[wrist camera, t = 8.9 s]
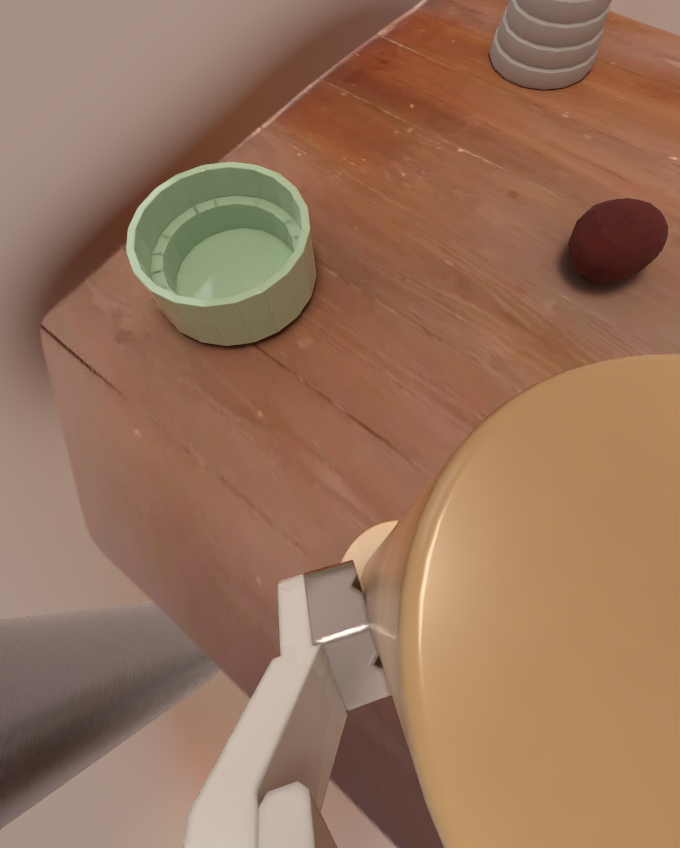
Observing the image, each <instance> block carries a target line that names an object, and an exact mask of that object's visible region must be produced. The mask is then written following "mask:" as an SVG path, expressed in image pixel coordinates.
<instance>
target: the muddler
mask: <svg viewBox="0 0 680 848" xmlns="http://www.w3.org/2000/svg"><path fill="white" fill-rule="evenodd" d="M349 560H353V561H354V564H355V568H356V571H357V574H358V578H359V581H360V585H361V588H362V592H363V595H364V598H365V602H366V608H367V614H368V619H369V623H370V626H371V630H372V633H373V636H374V640H375V643H376V646H377V649H378V652H379V656H380V659H381V662H382V665H383V668H384V671H385V675H386V678H387V681H388V684H389V687H390V691H391V694H392V697H393V700H394V703H395V706H396V710H397V713H398V716H399V719H400V722H401V726H402V729H403V732H404V735H405V738H406V741H407V745H408V748H409V751H410V754H411V757H412V761H413V764H414V767H415V770H416V773H417V776H418V780H419V783H420V786H421V789H422V792H423V796H424V799H425V802H426V805H427V808H428V810H429V812H430V815H431V817H432V820H433V822H434V825H435V827H436V830H437V832H438V834H439V837H440V839H441V842H442V844H443V847H444V848H680V354H653V355H637V356H630V357H624V358H618V359H611V360H605V361H599V362H594V363H591V364H587V365H584V366H581V367H577V368H574V369H570V370H567V371H563V372H561V373H559V374H556V375H554V376H552V377H550V378H547V379H545V380H543V381H541V382H538V383H536V384H534V385H532V386H530V387H529V388H527V389H525V390H524V391H522V392H521V393H519V394H517V395H516V396H514V397H513V398H511V399H509V400H508V401H506V402H504V403H503V404H502V405H501V406H500V407H498V408H497V409H496V410H495V411H494V412H493V413H491V414H490V415H489V416H488V417H487V418H485V419H484V420H483V421H482V422H481V423H479V424H478V425H477V427H476V428H475V429H474V430H473V431H472V432H471V433H470V434H469V436H468V437H467V438H466V439H465V440H464V441H463V442H462V443H461V445H460V446H459V447H458V448H457V449H456V450H455V451H454V453H453V454H452V455H451V456H450V458H449V459H448V460H447V461H446V463H445V464H444V465H443V466H442V468H441V469H440V470H439V472H438V473H437V474H436V475H435V477H434V478H433V479H432V480H431V482H430V483H429V484H428V485H427V487H426V488H425V489H424V490H423V492H422V493H421V494H420V495H419V497H418V498H417V499H416V501H415V502H414V503H413V504H412V506H411V507H410V508H409V509H408V511H407V512H406V513H405V514H404V516H403V517H402V518H401V519H400V520H391V521H385V522H382V523H379V524H376V525H374V526H372V527H370V528H368V529H367V530H365V531H363V532H362V533H361V534H360V535H359V536H357V537H356V538H355V540H354V541H353V542H352V543H351V544H350V546H349V547H348V548H347V550H346V552H345V554H344V556H343V557H342V560H341V563H342V562H346V561H349Z"/></svg>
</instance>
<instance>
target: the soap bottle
mask: <svg viewBox="0 0 680 848" xmlns="http://www.w3.org/2000/svg"><path fill="white" fill-rule="evenodd" d="M611 1H612V0H509V4H508V7H507V8H506V9H505V12H504V14H503V17H502V19H501V22H500V25H499V27H498V28H497V30H496V33H495V35H494V38H493V41H492V44H491V47H490V51H489V53H490V58H491V61H492V64H493V67H494V69H495V70H496V71H497V72H499V73H500V74H501V75H502V76H503V77H504V78H505V79H507V80H509V81H511V82H513V83H516V84H518V85H520V86H522V87H528V88H534V89H541V90H547V89H556V88H564V87H567V86H569V85H571V84H574V83H576V82H578V81H580V80H581V79H582V78H583V77H584V76H585V75H586V74H587V73H588V72H589V71H590V70H591V68H592V67H593V66H594V62H595V59H596V56H597V52H598V47H599V44H600V41H601V38H602V34H603V29H604V25H605V23H606V19H607V16H608V13H609V8H610V3H611Z"/></svg>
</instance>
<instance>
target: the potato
mask: <svg viewBox="0 0 680 848" xmlns="http://www.w3.org/2000/svg"><path fill="white" fill-rule="evenodd" d="M667 235H668V225H667V223H666V220H665V218H664V216H663V214H662V213H661V211H660V210H658V209H657V208H656V207H654V206H653V205H652V204H650V203H648V202H644V201H641V200H636V199H629V198H627V199H616V200H610V201H605V202H602V203H600V204H597V205H594V206H593V207H592V208H591V209H589V210H588V211H587V212H586V213H585V214H584V215H583V216H582V217H581V218H580V219H579V220H578V221H577V222H576V225H575V227H574V230H573V232H572V235H571V238H570V240H569V243H568V245H569V256H570V263H571V264H572V266H573V267H574V268H575V269H576V270H577V271H578V272H579V273H580V274H581V275H582V276H584V277H585V278H587V279H590V280H593V281H596V282H604V283H606V282H616V281H619V280H623V279H626V278H628V277H630V276H632V275H634V274H635V273H637V272H639V271H640V270H642V269H643V268H644V267H646V266H647V265H648V264H650V263H651V262H652V261H653V260H654V259H655V258H656V257H657V256H658V255H659V253H660V252H661V251H662V250H663V247H664V245H665V242H666V239H667Z"/></svg>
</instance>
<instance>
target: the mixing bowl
mask: <svg viewBox="0 0 680 848" xmlns="http://www.w3.org/2000/svg"><path fill="white" fill-rule="evenodd" d="M126 253H127V256H128V259H129V262H130V264H131V267H132V270H133V273H134V274H135V276H136V277H137V279H138V280H139V281H140V283H141V284H142V285H143V287H144V288H145V289H146V291H147V292H148V293H149V295H150V296H151V297H152V299H153V300H154V301H155V303H156V304H157V305H158V307H159V308H160V309H161V311H162V312H163V314H164V315H165V316H166V317H167V318H168V319H169V320H170V322H171V323H172V324H173V325H174V326H175V327H176V328H177V329H178V330H179V331H180V332H182V333H184V334H186V335H188V336H190V337H192V338H194V339H196V340H198V341H200V342H203V343H210V344H216V345H223V346H231V345H239V344H247V343H253V342H256V341H259V340H261V339H263V338H266V337H268V336H271V335H273V334H275V333H278V332H279V331H280V330H282V329H283V328H284V327H285V326H287V325H288V324H289V323H290V322H292V321H293V320H294V319H296V318H297V317H298V316H299V314H300V313H301V311H302V310H303V308H304V307H305V305H306V304H307V302H308V301H309V299H310V298H311V296H312V292H313V288H314V285H315V281H316V277H317V276H316V275H317V273H316V265H315V257H314V250H313V243H312V235H311V228H310V221H309V214H308V207H307V205H306V203H305V202H304V200H303V198H302V197H301V195H300V193H299V191H298V190H297V188H296V187H295V186H294V185H293V184H291V183H290V182H289V181H288V180H286V179H285V178H284V177H283V176H281V175H280V174H279V173H277V172H274V171H271V170H269V169H266V168H263V167H261V166H258V165H255V164H246V163H236V162H224V163H216V164H208V165H202V166H199V167H196V168H193V169H191V170H188V171H185V172H183V173H180V174H178V175H175V176H174V177H172V178H171V179H169V180H168V181H166V182H165V183H163V184H161V185H160V186H158V187H157V188H155V189H154V190H153V192H152V193H151V194H150V195H149V196H148V197H147V198H146V199H145V200H144V201H143V202H142V204H141V205H140V206H139V207H138V208H137V210H136V212H135V214H134V217H133V219H132V221H131V223H130V225H129V227H128V233H127V247H126Z"/></svg>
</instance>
